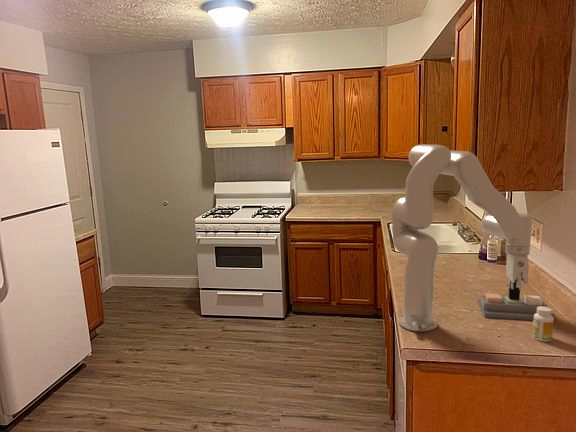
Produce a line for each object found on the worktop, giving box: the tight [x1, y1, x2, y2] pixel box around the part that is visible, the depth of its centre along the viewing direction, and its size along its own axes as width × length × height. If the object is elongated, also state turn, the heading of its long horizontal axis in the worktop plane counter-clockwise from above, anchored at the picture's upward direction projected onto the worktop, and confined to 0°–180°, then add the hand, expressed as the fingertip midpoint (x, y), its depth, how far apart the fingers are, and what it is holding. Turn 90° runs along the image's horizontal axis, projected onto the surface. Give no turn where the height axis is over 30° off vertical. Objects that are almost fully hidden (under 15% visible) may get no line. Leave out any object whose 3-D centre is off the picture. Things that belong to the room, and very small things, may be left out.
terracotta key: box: [484, 292, 502, 303], centre depth 157 cm, size 5×5×3 cm
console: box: [476, 295, 549, 321], centre depth 156 cm, size 13×21×4 cm, turn 77°
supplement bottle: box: [531, 306, 555, 343], centre depth 136 cm, size 5×5×10 cm
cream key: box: [523, 294, 544, 306], centre depth 154 cm, size 5×5×3 cm
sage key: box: [504, 295, 522, 304], centre depth 156 cm, size 5×5×3 cm
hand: (513, 298), depth 156 cm, fingers closed
